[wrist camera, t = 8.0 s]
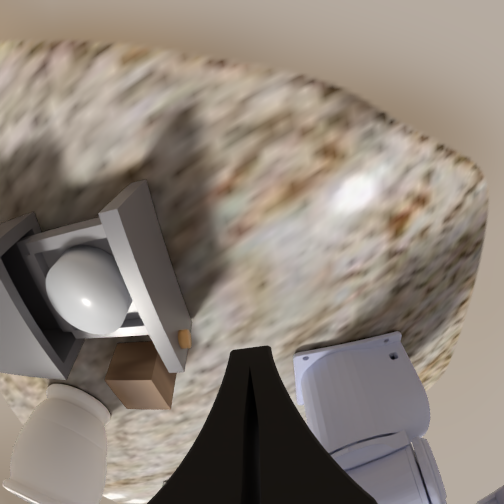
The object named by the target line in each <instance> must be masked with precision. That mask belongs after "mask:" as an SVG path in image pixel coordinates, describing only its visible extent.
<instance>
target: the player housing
mask: <svg viewBox="0 0 504 504" xmlns="http://www.w3.org/2000/svg"><path fill="white" fill-rule="evenodd" d="M38 233H42V232H41V229H40V227H39V224H38V221H37V219H36V216H35V213H34V212H31V213H28V214H25V215H23V216H20V217H17V218H15V219H12V220H9V221H7V222H4V223H1V224H0V372H1V373H7V374H14V375H22V376H30V377H38V378H48V379H59V380H67V378H68V376H69V373H70V371H71V369H72V366H73V364H74V362H75V360H76V358H77V355H78V353H79V351H80V349H81V347H82V345H83V342H84V340H85V338H83V339H76V338H75V336H74V335H73V333H72V332H63V331H62V329H61V327H60V326H59V324H58V323H57V321H56V319H55V318H54V316H53V314H52V313H51V311H50V309H49V307H48V306H47V304H46V302H45V300H44V298H43V297H42V295H41V293H40V291H39V289H38V287H37V285H36V283H35V282H34V280H33V278H32V276H31V274H30V272H29V270H28V267H27V265H26V263H25V261H24V259H23V257H22V255H21V252H20V250H19V248H18V246H17V242H18V241H19V240H20V239H22V238H25V237H28V236H32V235H35V234H38Z"/></svg>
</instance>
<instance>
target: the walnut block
mask: <svg viewBox="0 0 504 504" xmlns="http://www.w3.org/2000/svg"><path fill="white" fill-rule="evenodd" d="M176 373H177V372H176ZM176 373H169V372H168V370H167V368H166V366H165V364H164V362H163V361H162V359H161V357H160V355H159V353H158V351H157V349H156V347H155V345H154V343H153V342H152V341H145V342H130V343H118V344H117V346H116V349H115V352H114V354H113V357H112V360H111V363H110V365H109V368H108V371H107V374H106V377H105V382H106V383H107V384H108V386H109V387H110V388H111V390H112V391H113V392H114V393H115V395H116V396H117V397H118V398H119V400H120V401H121V402H122V403H123V405H124V406H125V407H126V408H127V409H171V405H172V398H173V392H174V385H175V379H176Z"/></svg>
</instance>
